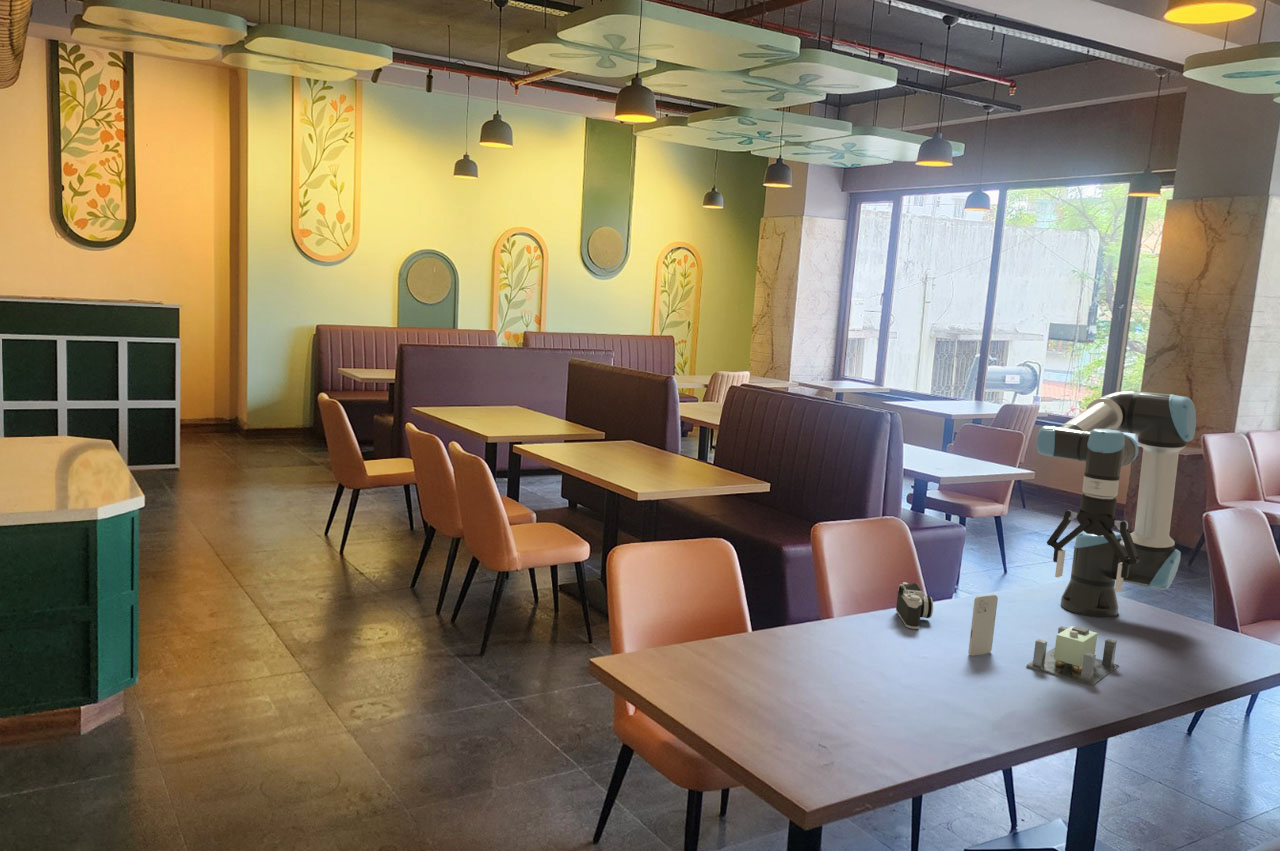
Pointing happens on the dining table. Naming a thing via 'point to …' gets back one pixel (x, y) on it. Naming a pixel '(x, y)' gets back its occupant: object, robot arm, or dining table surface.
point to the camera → (913, 604)
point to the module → (1074, 645)
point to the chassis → (1084, 674)
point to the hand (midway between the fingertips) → (1087, 583)
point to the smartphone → (983, 624)
